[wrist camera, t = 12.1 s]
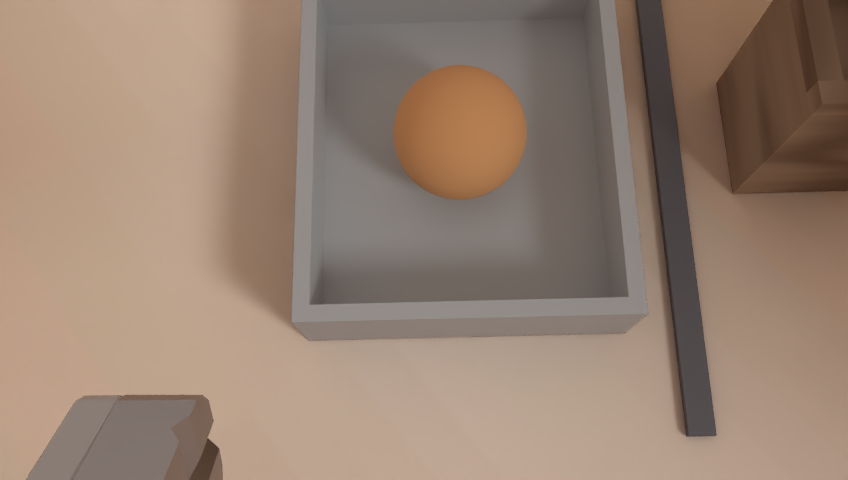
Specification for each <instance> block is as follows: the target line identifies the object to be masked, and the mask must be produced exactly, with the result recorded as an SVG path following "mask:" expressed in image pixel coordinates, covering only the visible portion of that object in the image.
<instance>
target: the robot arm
mask: <svg viewBox="0 0 848 480" xmlns="http://www.w3.org/2000/svg"><path fill="white" fill-rule="evenodd" d="M213 421H214V420H213V416H212V412H211V408H210V404H209V400H208V399H207V398H206V397H204V396H203V395H124V396H120V395H103V396H84V397H82V398H80V399H78V400H77V401H76V402H75V403H74V404H73V406H72V407H71V409H70V410H69V412H68V413H67V415H66V417H65V418H64V420H63V421H62V423H61V425H60V426H59V428H58V429H57V431H56V433H55V434H54V436H53V437H52V439H51V440H50V442H49V444H48V445H47V447H46V448H45V450H44V452H43V453H42V455H41V456H40V458H39V459H38V461H37V463H36V464H35V466H34V467H33V469H32V471H31V472H30V474H29V475H28V477H27V478H26V480H223V471H222V460H221V455H220V450H219V448H218V447H217V446H216V445H215V444H214V443H213V442H211V441H210V440H209V439H208V435H209V433H210V430H211V427H212V424H213Z"/></svg>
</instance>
